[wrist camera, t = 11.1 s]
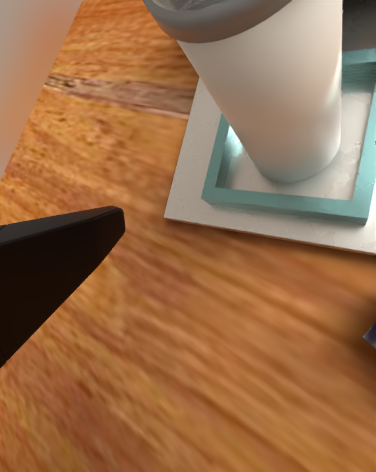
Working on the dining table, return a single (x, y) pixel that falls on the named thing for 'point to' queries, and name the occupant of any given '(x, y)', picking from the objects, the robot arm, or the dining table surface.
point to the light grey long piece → (371, 336)
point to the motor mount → (294, 193)
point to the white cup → (268, 74)
